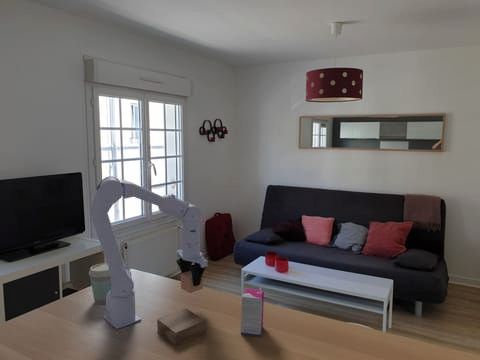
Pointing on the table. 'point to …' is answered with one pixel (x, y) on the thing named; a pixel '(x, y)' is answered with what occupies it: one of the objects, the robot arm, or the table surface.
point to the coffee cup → (100, 282)
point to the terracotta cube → (189, 282)
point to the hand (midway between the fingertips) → (191, 282)
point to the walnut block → (181, 326)
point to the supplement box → (252, 312)
